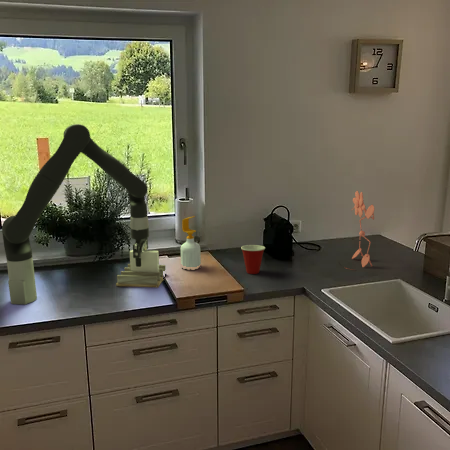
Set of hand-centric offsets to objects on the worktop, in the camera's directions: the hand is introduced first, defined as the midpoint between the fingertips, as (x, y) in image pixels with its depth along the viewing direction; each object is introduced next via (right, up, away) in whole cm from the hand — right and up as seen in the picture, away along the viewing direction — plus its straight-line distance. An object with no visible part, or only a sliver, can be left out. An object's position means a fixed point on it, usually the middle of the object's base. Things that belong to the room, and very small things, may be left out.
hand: (141, 263), depth 209 cm
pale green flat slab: (+1, -6, +2) cm, 7 cm away
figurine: (+97, -2, +21) cm, 99 cm away
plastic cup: (+48, -5, +11) cm, 50 cm away
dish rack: (0, -7, +2) cm, 8 cm away
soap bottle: (+20, -4, +17) cm, 27 cm away
